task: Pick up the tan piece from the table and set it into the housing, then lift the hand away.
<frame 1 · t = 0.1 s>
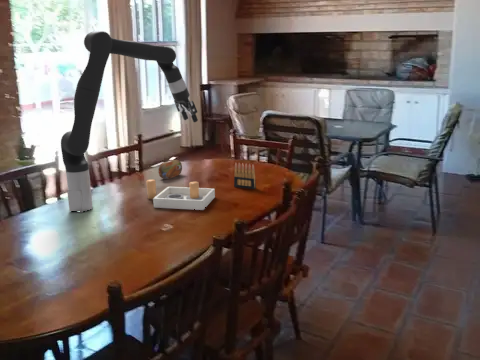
hand: (191, 120, 256), 31 cm above the table, tool tilted 20°, fingers open, 8 cm apart
tin: (170, 177, 279), on the table
ammunition clip: (245, 187, 257), on the table
tan piece: (152, 197, 245), on the table
housing: (185, 202, 237), on the table
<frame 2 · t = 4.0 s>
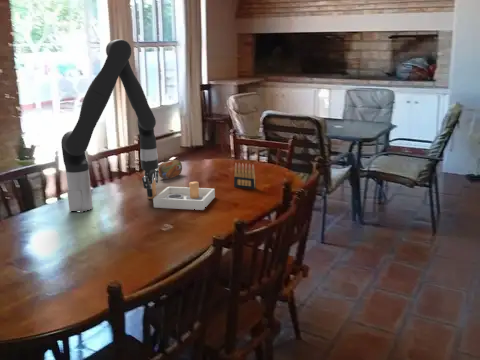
hand: (151, 195, 245), 1 cm above the table, tool pointing down, fingers closed on tan piece, 4 cm apart
tan piece: (152, 197, 245), on the table, touching gripper
everything else where it was.
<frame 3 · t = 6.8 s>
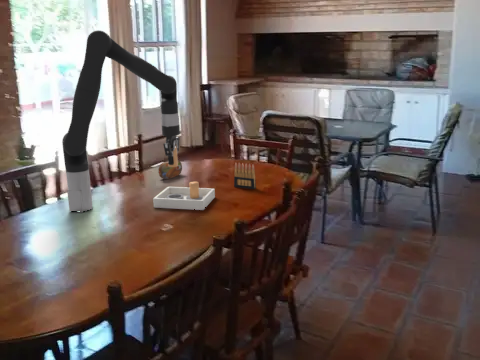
hand: (173, 163, 234), 17 cm above the table, tool pointing down, fingers closed on tan piece, 4 cm apart
tan piece: (173, 166, 234), point 16 cm above the table, touching gripper
everything else where it was.
when the fingers open (3 cm above the table, at t = 9.8 s): tan piece drops 1 cm, resting on housing.
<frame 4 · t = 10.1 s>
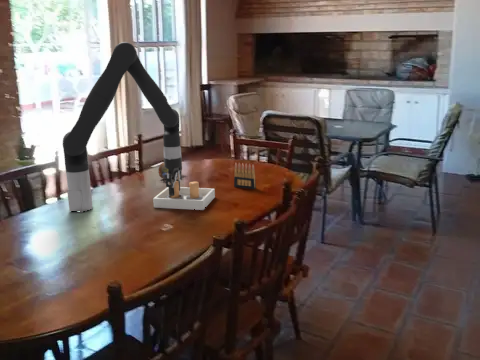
hand: (174, 193, 237), 4 cm above the table, tool pointing down, fingers open, 7 cm apart
tan piece: (175, 199, 238), point 1 cm above the table, touching housing
everything else where it was.
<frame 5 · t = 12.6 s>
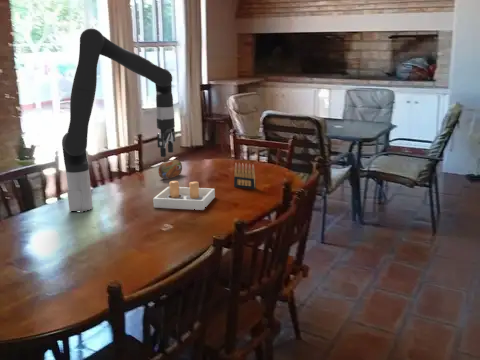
hand: (167, 154, 234), 21 cm above the table, tool pointing down, fingers open, 8 cm apart
nothing on the table moved.
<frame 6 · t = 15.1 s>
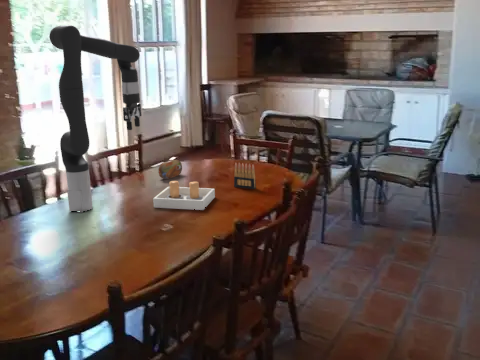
hand: (133, 128, 247), 30 cm above the table, tool pointing down, fingers open, 8 cm apart
nothing on the table moved.
at the end: tan piece 0.1 cm from the target spot on the housing, point 1.0 cm above the housing's base; tan piece tilted 0°; the gripper is holding nothing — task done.
